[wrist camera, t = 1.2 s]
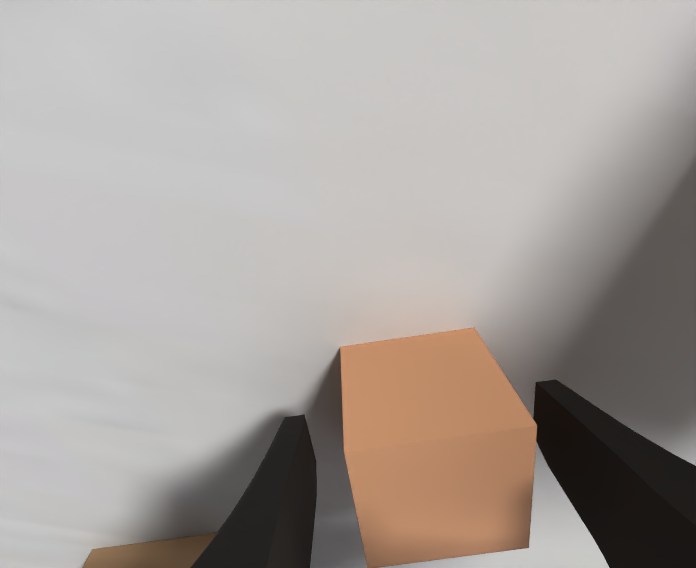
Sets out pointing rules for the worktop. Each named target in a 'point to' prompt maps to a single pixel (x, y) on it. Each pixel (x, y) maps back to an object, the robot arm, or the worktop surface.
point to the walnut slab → (151, 554)
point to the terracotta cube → (435, 449)
